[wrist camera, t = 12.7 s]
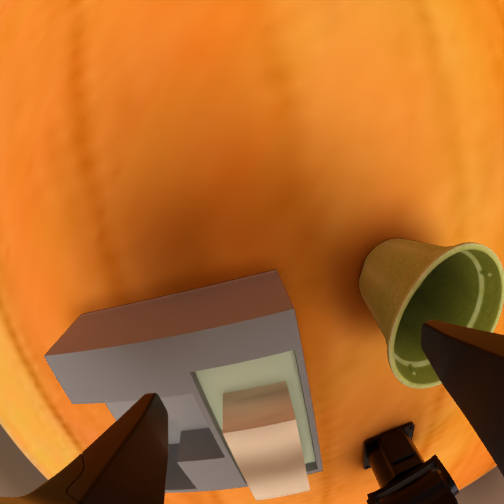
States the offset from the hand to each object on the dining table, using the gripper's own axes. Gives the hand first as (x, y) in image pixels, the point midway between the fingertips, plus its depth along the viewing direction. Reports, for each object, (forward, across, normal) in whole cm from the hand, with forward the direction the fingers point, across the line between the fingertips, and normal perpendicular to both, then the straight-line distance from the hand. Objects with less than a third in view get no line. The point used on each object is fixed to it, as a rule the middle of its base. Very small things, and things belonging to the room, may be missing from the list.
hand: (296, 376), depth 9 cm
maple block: (+7, +2, +11) cm, 13 cm away
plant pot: (+13, -10, +4) cm, 17 cm away
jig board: (+13, +7, +9) cm, 17 cm away
